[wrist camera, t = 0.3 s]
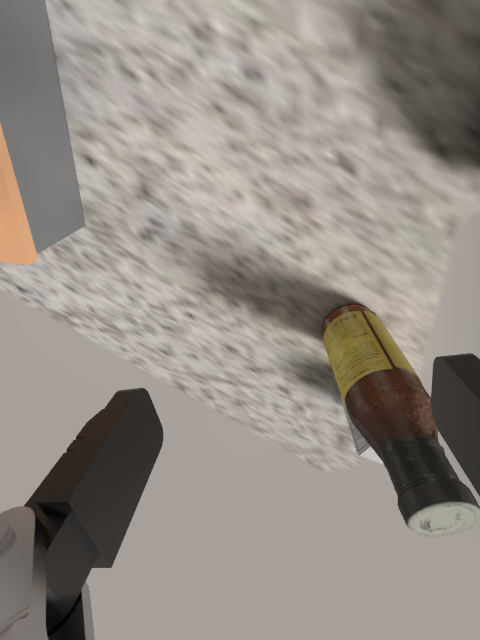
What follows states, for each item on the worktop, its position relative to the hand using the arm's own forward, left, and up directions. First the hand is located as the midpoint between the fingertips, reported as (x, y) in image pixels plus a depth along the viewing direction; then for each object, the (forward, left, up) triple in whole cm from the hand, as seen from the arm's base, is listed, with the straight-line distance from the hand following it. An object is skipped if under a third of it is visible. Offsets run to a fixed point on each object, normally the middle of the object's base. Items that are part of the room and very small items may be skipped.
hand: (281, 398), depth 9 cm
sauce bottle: (+11, +11, -23) cm, 28 cm away
